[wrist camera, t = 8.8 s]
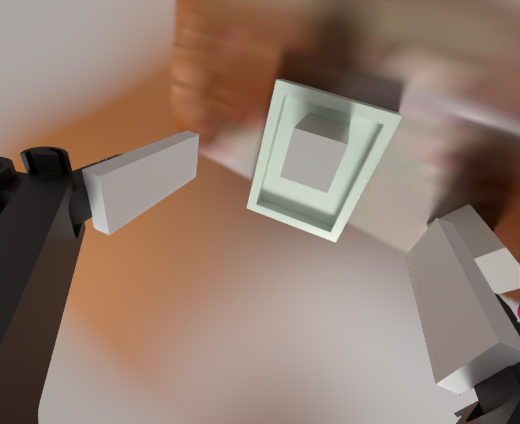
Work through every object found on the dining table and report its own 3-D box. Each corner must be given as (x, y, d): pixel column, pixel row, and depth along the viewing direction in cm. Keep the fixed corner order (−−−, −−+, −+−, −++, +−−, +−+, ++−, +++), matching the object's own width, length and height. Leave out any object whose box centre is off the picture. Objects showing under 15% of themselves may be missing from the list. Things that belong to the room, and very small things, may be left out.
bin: (282, 78, 23) (276, 79, 22) (398, 112, 22) (402, 116, 20) (252, 200, 31) (246, 208, 29) (337, 231, 30) (335, 242, 28)
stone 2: (469, 203, 24) (505, 247, 18) (492, 232, 24) (534, 283, 18) (426, 224, 26) (446, 268, 20) (448, 250, 26) (474, 300, 21)
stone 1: (296, 152, 26) (279, 176, 20) (308, 112, 23) (293, 127, 18) (334, 164, 25) (327, 193, 19) (350, 125, 23) (348, 144, 17)
